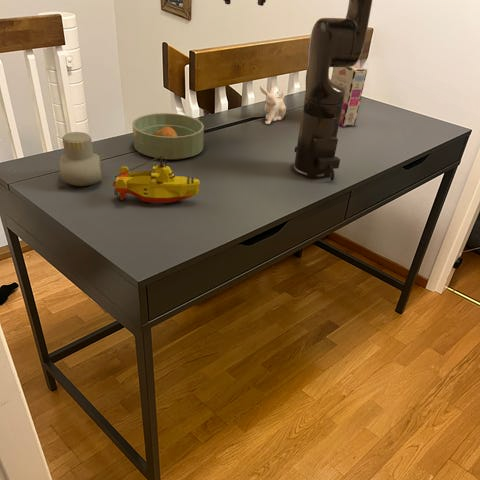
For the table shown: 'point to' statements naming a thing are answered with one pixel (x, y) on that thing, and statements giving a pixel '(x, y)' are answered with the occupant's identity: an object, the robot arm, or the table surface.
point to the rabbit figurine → (274, 105)
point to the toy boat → (155, 184)
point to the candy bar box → (350, 91)
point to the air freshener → (79, 160)
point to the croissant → (166, 132)
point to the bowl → (168, 147)
